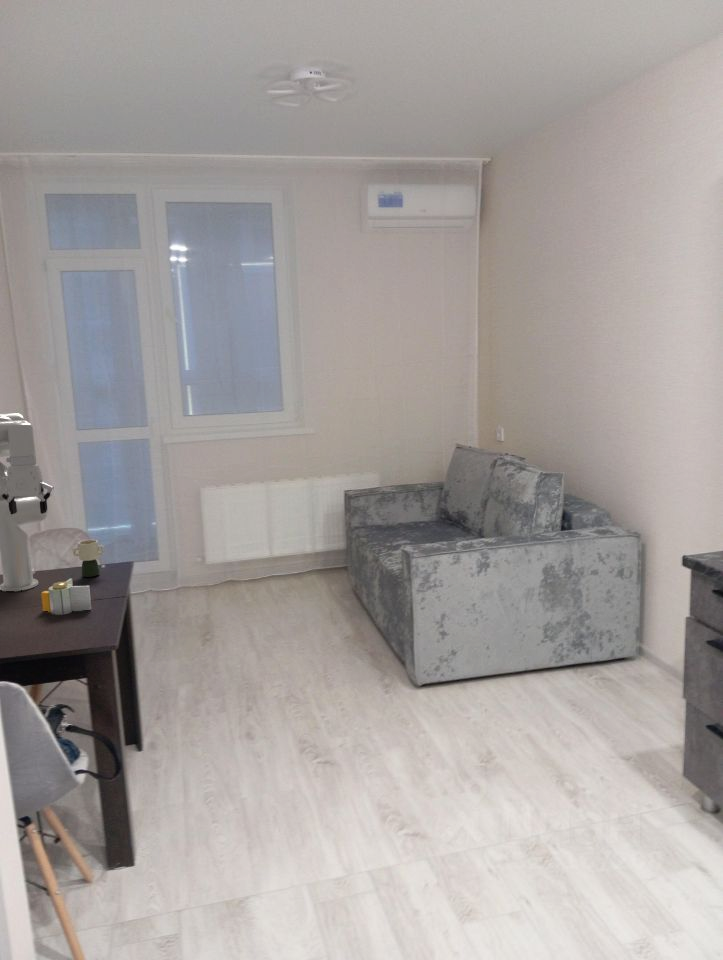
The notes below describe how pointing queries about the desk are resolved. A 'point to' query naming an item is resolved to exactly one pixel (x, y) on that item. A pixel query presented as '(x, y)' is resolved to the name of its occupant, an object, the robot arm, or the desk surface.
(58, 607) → the hinge
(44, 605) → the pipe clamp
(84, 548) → the character mug
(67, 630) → the desk surface
